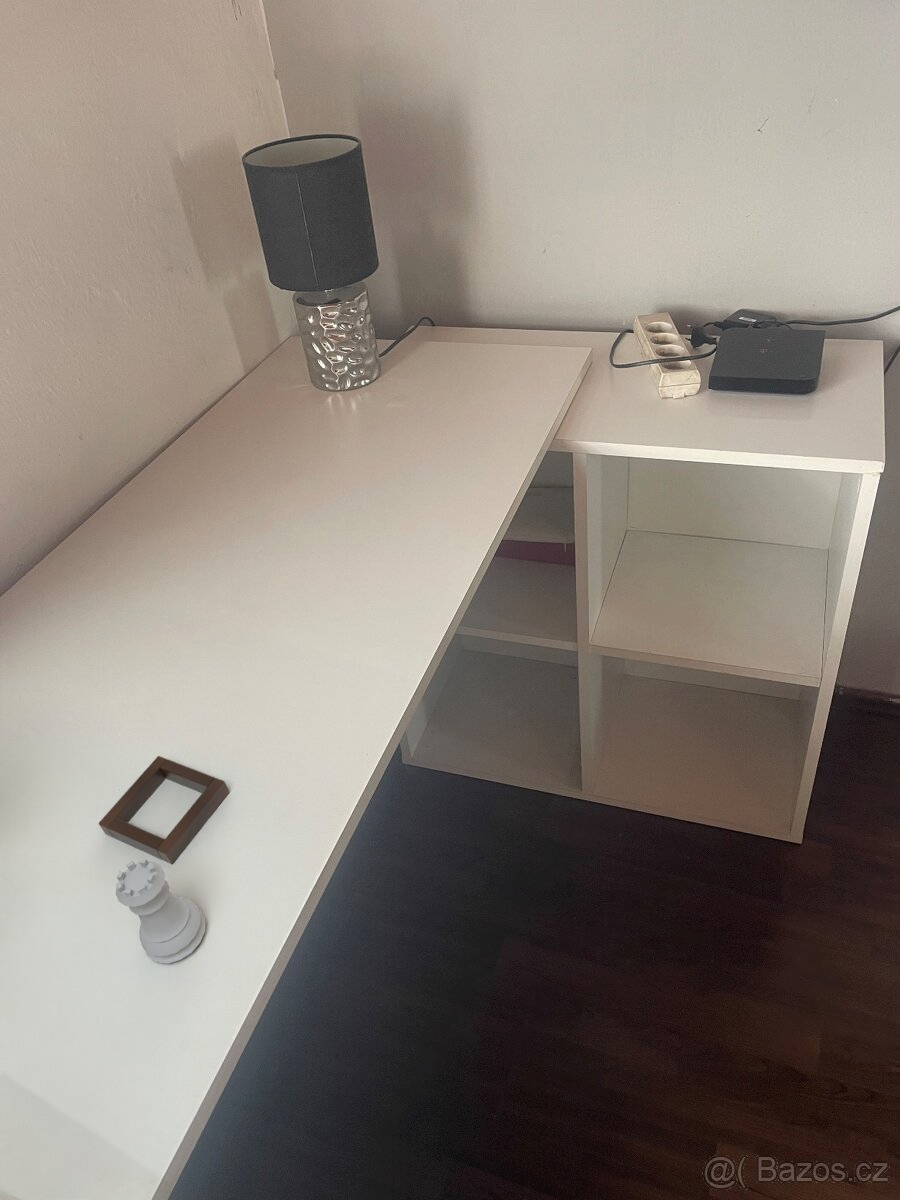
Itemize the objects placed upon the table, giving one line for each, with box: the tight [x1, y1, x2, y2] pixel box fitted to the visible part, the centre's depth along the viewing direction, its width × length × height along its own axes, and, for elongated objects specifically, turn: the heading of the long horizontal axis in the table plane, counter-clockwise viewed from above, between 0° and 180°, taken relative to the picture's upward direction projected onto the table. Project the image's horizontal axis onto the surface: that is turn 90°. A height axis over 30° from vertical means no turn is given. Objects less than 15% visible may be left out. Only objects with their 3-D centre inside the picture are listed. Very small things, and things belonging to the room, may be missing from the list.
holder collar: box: [98, 755, 230, 865], centre depth 69 cm, size 7×7×2 cm
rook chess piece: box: [115, 858, 206, 964], centre depth 59 cm, size 4×4×8 cm
